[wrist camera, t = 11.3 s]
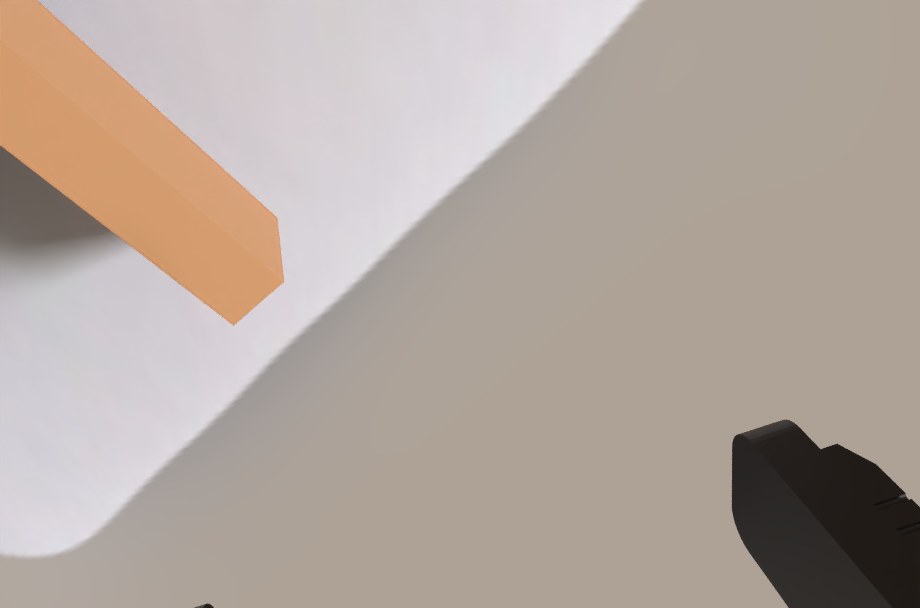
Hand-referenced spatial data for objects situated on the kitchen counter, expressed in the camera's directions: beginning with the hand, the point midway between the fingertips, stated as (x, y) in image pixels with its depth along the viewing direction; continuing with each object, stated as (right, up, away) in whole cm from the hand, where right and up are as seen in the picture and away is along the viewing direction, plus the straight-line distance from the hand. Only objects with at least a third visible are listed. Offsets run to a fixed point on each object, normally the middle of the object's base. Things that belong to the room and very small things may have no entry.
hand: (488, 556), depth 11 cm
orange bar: (-10, +9, +10) cm, 16 cm away
